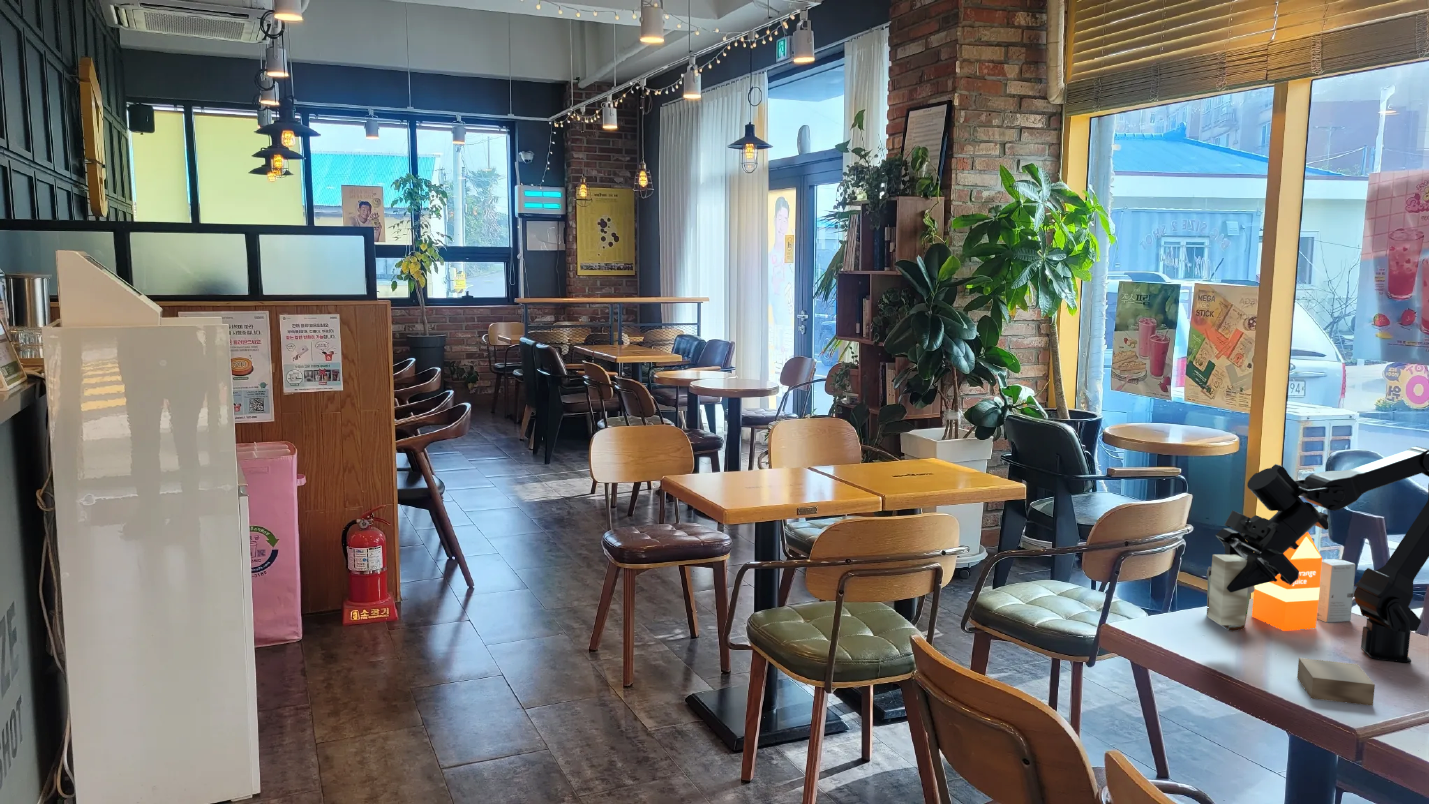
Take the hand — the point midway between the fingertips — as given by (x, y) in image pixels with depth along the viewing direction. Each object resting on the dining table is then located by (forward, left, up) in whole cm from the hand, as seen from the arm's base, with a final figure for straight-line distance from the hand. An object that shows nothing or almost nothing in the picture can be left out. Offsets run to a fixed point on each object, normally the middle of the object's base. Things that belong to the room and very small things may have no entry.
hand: (1221, 586), depth 184 cm
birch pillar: (-1, 0, -7) cm, 7 cm away
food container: (-6, -20, -13) cm, 25 cm away
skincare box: (-26, -30, -13) cm, 42 cm away
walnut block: (-16, +12, -13) cm, 24 cm away
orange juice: (-16, -24, -13) cm, 32 cm away
